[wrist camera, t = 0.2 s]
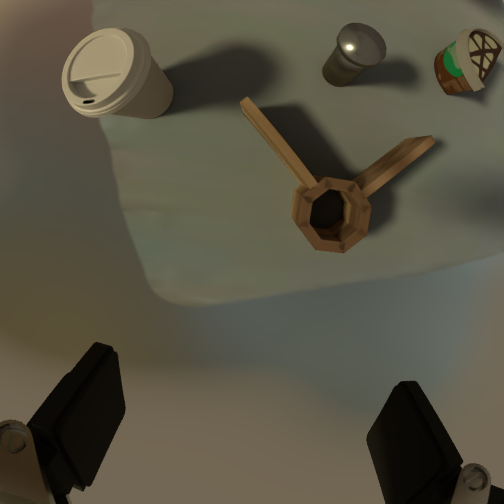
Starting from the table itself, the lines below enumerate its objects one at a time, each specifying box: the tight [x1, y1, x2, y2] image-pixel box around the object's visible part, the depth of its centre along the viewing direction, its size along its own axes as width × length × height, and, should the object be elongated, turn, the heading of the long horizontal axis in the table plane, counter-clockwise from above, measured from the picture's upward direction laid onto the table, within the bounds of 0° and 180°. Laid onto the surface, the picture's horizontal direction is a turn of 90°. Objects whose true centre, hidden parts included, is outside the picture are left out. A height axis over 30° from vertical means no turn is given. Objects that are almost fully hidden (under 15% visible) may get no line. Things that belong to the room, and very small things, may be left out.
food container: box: [434, 28, 504, 95], centre depth 25 cm, size 12×6×10 cm, turn 141°
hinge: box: [240, 97, 436, 253], centre depth 32 cm, size 20×20×7 cm
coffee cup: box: [62, 28, 174, 119], centre depth 26 cm, size 10×10×15 cm
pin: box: [322, 23, 386, 87], centre depth 27 cm, size 5×5×11 cm
